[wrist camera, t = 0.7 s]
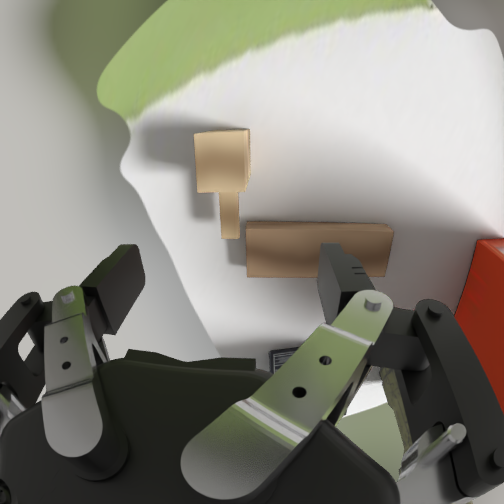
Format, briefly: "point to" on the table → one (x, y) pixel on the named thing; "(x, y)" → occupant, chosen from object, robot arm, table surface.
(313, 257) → the brown block
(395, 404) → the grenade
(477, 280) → the file binder
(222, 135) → the wooden brick
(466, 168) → the table surface
